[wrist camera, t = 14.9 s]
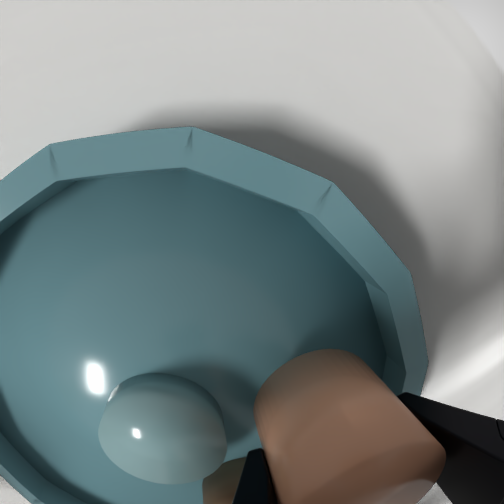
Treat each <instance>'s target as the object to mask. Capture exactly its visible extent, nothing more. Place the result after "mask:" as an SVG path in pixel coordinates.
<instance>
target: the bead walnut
mask: <svg viewBox="0 0 504 504" xmlns="http://www.w3.org/2000/svg"><path fill="white" fill-rule="evenodd" d="M245 460H246V457H243V458H238V459H234V460H230V461H227V462H224V463H222V464H221V466H220V467H219V468H218V469H217V470H216V471H215V472H213V473H212V474H210V475H209V476H207V477H205V478H204V479H203V482H202V493H203V504H232V502H233V499H234V495H235V492H236V489H237V486H238V483H239V480H240V476H241V473H242V470H243V467H244V463H245Z"/></svg>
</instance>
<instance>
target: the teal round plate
mask: <svg viewBox="0 0 504 504" xmlns="http://www.w3.org/2000/svg"><path fill="white" fill-rule="evenodd" d="M322 349H340V350H345V351H348V352H351V353H353V354H355V355H357V356H359V357H360V358H361V359H362V360H363V361H364V362H365V363H366V364H367V365H368V366H369V367H370V368H371V369H372V370H373V371H374V373H375V374H376V375H377V376H378V377H379V378H380V379H381V380H382V381H383V382H384V383H385V384H386V385H387V387H388V388H389V389H390V390H391V391H392V392H393V393H394V394H395V395H396V396H397V395H399V394H401V393H403V392H409V393H412V394H415V395H418V396H420V395H421V391H422V387H423V383H424V379H425V375H426V371H427V367H428V356H427V349H426V343H425V337H424V332H423V327H422V321H421V316H420V311H419V307H418V302H417V297H416V293H415V288H414V284H413V280H412V276H411V273H410V272H409V270H408V269H407V268H406V267H405V265H404V264H403V263H402V262H401V260H400V259H399V258H398V257H397V255H396V254H395V253H394V252H393V250H392V249H391V248H390V247H389V245H388V244H387V243H386V242H385V241H384V239H383V238H382V237H381V236H380V235H379V233H378V232H377V231H376V230H375V229H374V227H373V226H372V225H371V224H370V223H369V222H368V220H367V219H366V218H365V217H364V216H363V215H362V214H361V212H360V211H359V210H358V209H357V208H356V207H355V206H354V205H353V203H352V202H351V201H350V200H349V199H348V198H347V197H346V196H345V195H344V193H343V192H342V191H341V190H340V189H339V188H338V187H337V186H336V185H335V184H334V183H333V182H332V181H330V180H327V179H325V178H323V177H321V176H318V175H316V174H314V173H312V172H309V171H307V170H305V169H302V168H300V167H298V166H295V165H293V164H291V163H288V162H286V161H283V160H281V159H278V158H276V157H274V156H271V155H269V154H266V153H264V152H261V151H258V150H256V149H253V148H251V147H248V146H246V145H243V144H240V143H238V142H235V141H232V140H229V139H227V138H224V137H221V136H218V135H216V134H213V133H210V132H207V131H204V130H201V129H198V128H195V127H193V128H192V127H177V128H164V129H152V130H142V131H132V132H124V133H116V134H108V135H101V136H94V137H87V138H81V139H75V140H69V141H63V142H58V143H53V144H49V145H48V146H46V147H45V148H43V149H42V150H40V151H39V152H38V153H36V154H35V155H33V156H32V157H31V158H29V159H28V160H27V161H25V162H24V163H23V164H21V165H20V166H19V167H17V168H16V169H15V170H13V171H12V172H11V173H10V174H8V175H7V176H6V177H5V178H3V179H2V180H1V181H0V475H1V476H2V477H3V478H4V479H5V480H6V481H7V482H8V483H9V484H10V485H11V486H12V487H13V488H14V489H15V490H17V491H18V492H19V493H20V494H21V495H22V496H23V497H24V498H26V499H27V500H28V501H29V502H30V503H32V504H203V493H202V482H203V479H204V478H205V477H207V476H209V475H210V474H212V473H213V472H215V471H216V470H217V469H218V468H219V467H220V466H221V464H222V463H224V462H227V461H230V460H234V459H238V458H243V457H247V453H248V452H249V451H250V450H254V449H258V448H262V446H261V442H260V439H259V435H258V431H257V428H256V424H255V420H254V415H253V408H254V402H255V398H256V396H257V394H258V391H259V390H260V388H261V386H262V385H263V383H264V382H265V381H266V380H267V378H268V377H269V376H270V375H271V374H272V373H273V372H274V371H276V370H277V369H278V368H279V367H281V366H282V365H283V364H285V363H287V362H288V361H290V360H292V359H294V358H296V357H298V356H300V355H303V354H305V353H308V352H312V351H316V350H322Z"/></svg>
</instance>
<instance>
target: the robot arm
mask: <svg viewBox="0 0 504 504" xmlns="http://www.w3.org/2000/svg"><path fill="white" fill-rule="evenodd" d="M397 397H398V398H399V400H400V401H401V402H402V403H403V404H404V405H405V406H406V407H407V408H408V409H409V410H410V411H411V413H412V414H413V415H414V416H415V417H416V418H417V419H418V420H419V421H420V422H421V423H422V424H423V426H424V427H425V428H426V429H427V430H428V431H429V432H430V433H431V434H432V435H433V436H434V438H435V439H436V440H437V441H438V442H439V443H440V444H441V445H442V446H443V448H444V449H445V452H446V461H445V465H444V468H443V470H442V472H441V474H440V476H439V478H438V479H437V481H436V483H437V484H438V485H439V487H440V488H441V489H442V490H443V492H444V493H445V494H446V496H447V497H448V498H449V500H450V501H451V502H452V504H504V421H503V420H499V419H497V420H496V419H495V418H491V417H488V416H484V415H480V414H477V413H473V412H470V411H466V410H463V409H459V408H456V407H453V406H449V405H446V404H443V403H440V402H437V401H433V400H430V399H427V398H424V397H421V396H418V395H415V394H412V393H409V392H403V393H401V394H399V395H397ZM232 504H278V502H277V499H276V495H275V492H274V488H273V484H272V481H271V477H270V473H269V470H268V466H267V463H266V459H265V456H264V452H263V449H262V448H258V449H254V450H250V451H249V452H248V453H247V457H246V460H245V463H244V467H243V470H242V473H241V476H240V480H239V483H238V486H237V489H236V492H235V495H234V499H233V502H232Z"/></svg>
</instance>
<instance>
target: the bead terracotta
mask: <svg viewBox="0 0 504 504" xmlns="http://www.w3.org/2000/svg"><path fill="white" fill-rule="evenodd" d="M253 415H254V420H255V424H256V428H257V431H258V435H259V439H260V442H261V446H262V449H263V452H264V456H265V459H266V463H267V466H268V470H269V473H270V477H271V481H272V484H273V488H274V492H275V495H276V499H277V502H278V504H416V503H417V502H418V501H419V500H420V499H421V498H422V497H423V496H424V495H425V494H426V493H427V492H428V491H429V490H430V489H431V488H432V486H433V485H434V484H435V482H436V481H437V479H438V478H439V476H440V474H441V472H442V470H443V468H444V465H445V461H446V452H445V449H444V448H443V446H442V445H441V444H440V443H439V442H438V441H437V440H436V439H435V438H434V436H433V435H432V434H431V433H430V432H429V431H428V430H427V429H426V428H425V427H424V426H423V424H422V423H421V422H420V421H419V420H418V419H417V418H416V417H415V416H414V415H413V414H412V413H411V411H410V410H409V409H408V408H407V407H406V406H405V405H404V404H403V403H402V402H401V401H400V400H399V398H398V397H397V396H396V395H395V394H394V393H393V392H392V391H391V390H390V389H389V388H388V387H387V385H386V384H385V383H384V382H383V381H382V380H381V379H380V378H379V377H378V376H377V375H376V374H375V373H374V371H373V370H372V369H371V368H370V367H369V366H368V365H367V364H366V363H365V362H364V361H363V360H362V359H361V358H360V357H359V356H357V355H355V354H353V353H351V352H348V351H345V350H340V349H322V350H316V351H312V352H308V353H305V354H303V355H300V356H298V357H296V358H294V359H292V360H290V361H288V362H287V363H285V364H283V365H282V366H281V367H279V368H278V369H277V370H276V371H274V372H273V373H272V374H271V375H270V376H269V377H268V378H267V380H266V381H265V382H264V383H263V385H262V386H261V388H260V390H259V391H258V394H257V396H256V398H255V402H254V408H253Z"/></svg>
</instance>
